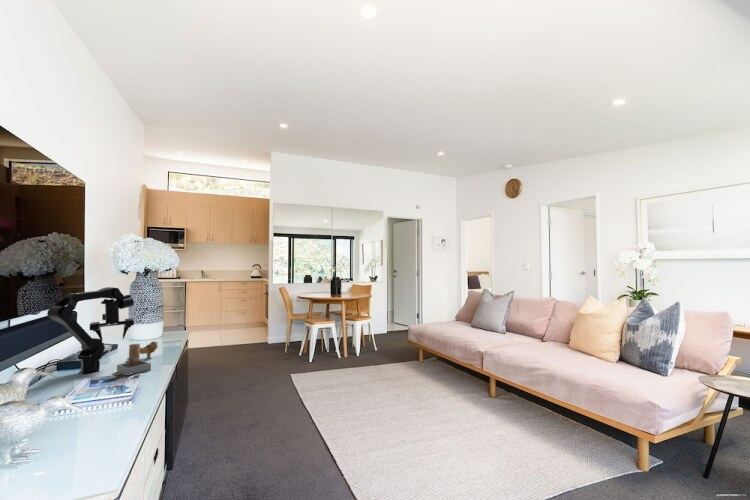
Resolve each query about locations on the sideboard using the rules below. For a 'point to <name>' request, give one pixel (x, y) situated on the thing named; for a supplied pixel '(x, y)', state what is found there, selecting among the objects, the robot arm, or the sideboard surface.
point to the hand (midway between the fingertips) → (112, 340)
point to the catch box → (136, 369)
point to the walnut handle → (134, 355)
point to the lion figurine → (149, 349)
